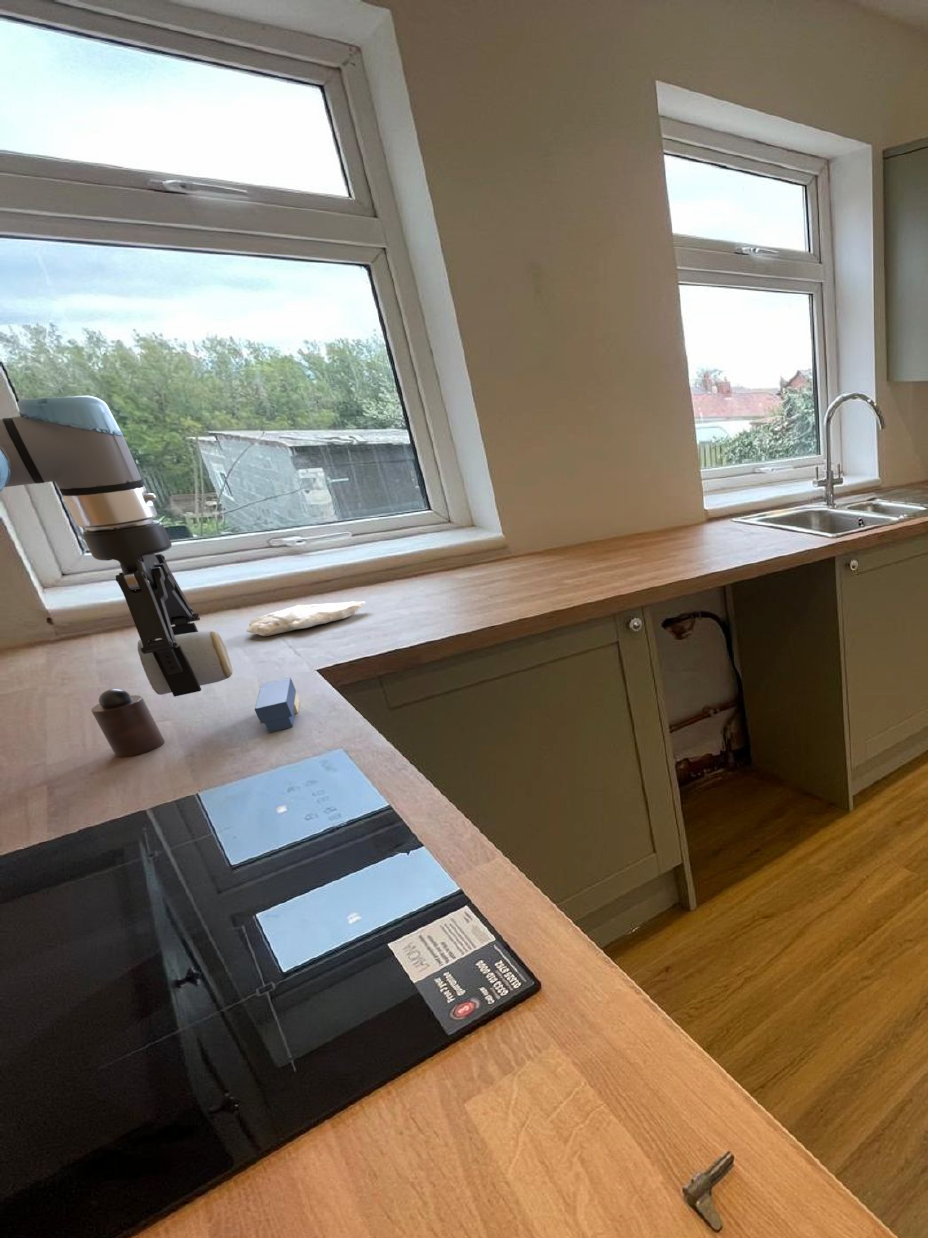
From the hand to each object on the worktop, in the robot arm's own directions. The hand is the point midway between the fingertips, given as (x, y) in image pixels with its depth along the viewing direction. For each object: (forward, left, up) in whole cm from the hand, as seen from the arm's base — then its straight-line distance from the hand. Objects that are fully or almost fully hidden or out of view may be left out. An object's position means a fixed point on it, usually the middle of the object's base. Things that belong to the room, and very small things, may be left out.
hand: (194, 679), depth 101 cm
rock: (+10, +50, -8) cm, 52 cm away
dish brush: (+8, -1, -8) cm, 11 cm away
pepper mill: (-8, 0, -8) cm, 12 cm away
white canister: (0, 0, -1) cm, 1 cm away
